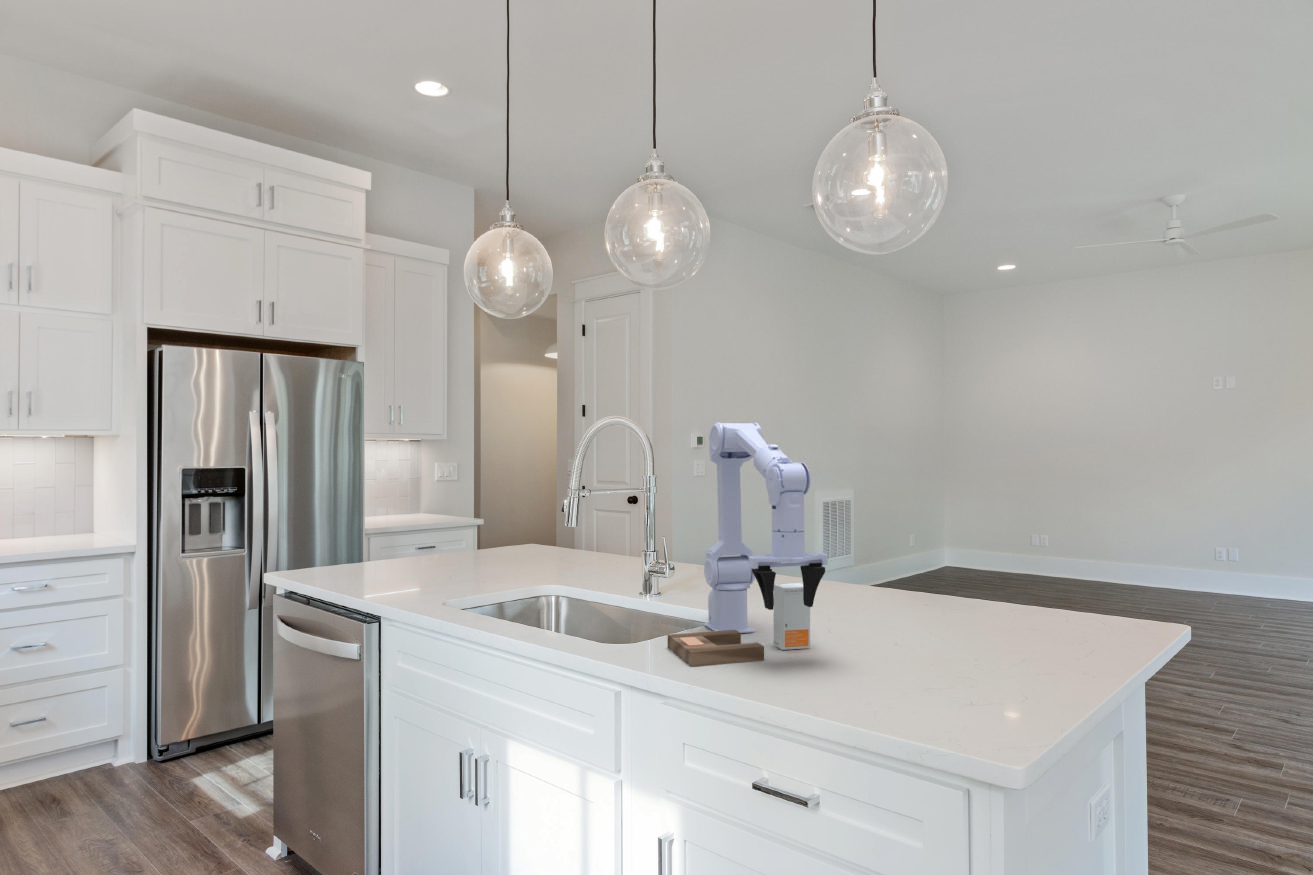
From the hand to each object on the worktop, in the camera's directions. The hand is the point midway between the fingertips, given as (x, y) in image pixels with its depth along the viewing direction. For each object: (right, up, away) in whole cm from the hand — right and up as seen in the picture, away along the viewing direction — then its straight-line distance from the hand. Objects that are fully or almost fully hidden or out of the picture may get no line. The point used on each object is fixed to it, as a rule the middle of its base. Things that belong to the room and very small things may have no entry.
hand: (788, 607), depth 139 cm
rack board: (-13, -10, +8) cm, 18 cm away
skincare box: (+3, -11, +12) cm, 16 cm away
